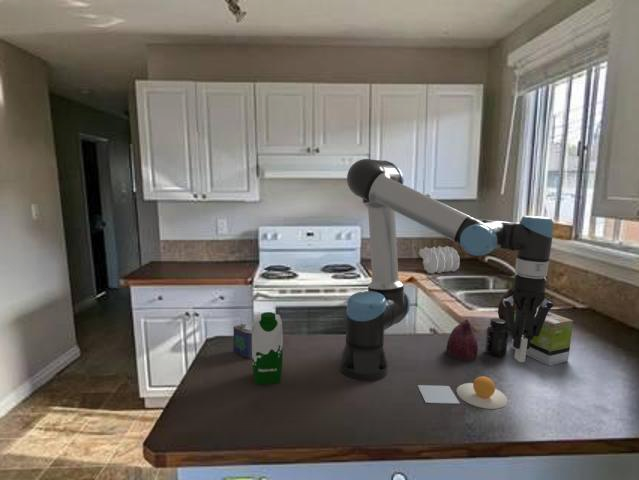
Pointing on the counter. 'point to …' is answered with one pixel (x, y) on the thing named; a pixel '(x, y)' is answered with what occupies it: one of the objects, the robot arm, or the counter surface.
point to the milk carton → (267, 348)
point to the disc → (472, 398)
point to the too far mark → (438, 394)
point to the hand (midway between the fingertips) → (519, 359)
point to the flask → (242, 341)
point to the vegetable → (462, 343)
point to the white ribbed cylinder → (439, 259)
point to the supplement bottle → (496, 338)
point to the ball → (484, 387)
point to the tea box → (551, 340)
